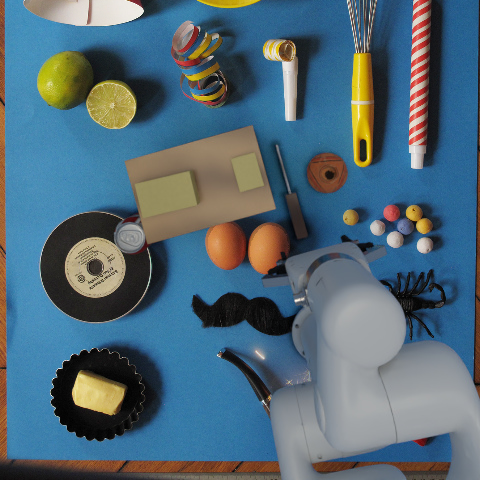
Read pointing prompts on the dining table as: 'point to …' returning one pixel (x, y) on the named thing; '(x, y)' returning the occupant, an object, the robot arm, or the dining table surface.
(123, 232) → the soda can
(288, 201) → the knife
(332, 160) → the pot
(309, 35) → the dining table surface
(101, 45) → the dining table surface
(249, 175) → the butter slice
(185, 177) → the butter block
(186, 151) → the cutting board
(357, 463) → the dining table surface
